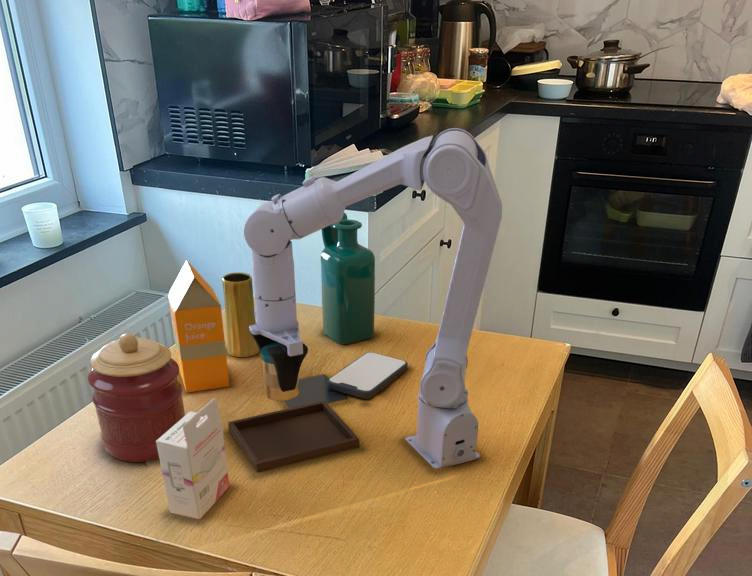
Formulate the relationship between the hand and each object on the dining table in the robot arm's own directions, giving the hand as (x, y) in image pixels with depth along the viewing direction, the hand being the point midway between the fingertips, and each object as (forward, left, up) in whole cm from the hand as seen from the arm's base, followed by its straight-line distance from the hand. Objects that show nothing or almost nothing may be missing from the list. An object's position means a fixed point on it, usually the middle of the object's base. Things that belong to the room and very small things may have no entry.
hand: (281, 381), depth 116 cm
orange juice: (+24, +6, -10) cm, 27 cm away
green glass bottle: (+31, -25, -10) cm, 41 cm away
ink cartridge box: (-12, +17, -10) cm, 23 cm away
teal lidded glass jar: (0, 0, -2) cm, 2 cm away
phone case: (+11, -20, -9) cm, 25 cm away
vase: (+32, -4, -10) cm, 34 cm away
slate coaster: (+11, -9, -9) cm, 17 cm away
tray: (-2, -1, -9) cm, 10 cm away
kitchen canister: (+7, +20, -10) cm, 23 cm away
